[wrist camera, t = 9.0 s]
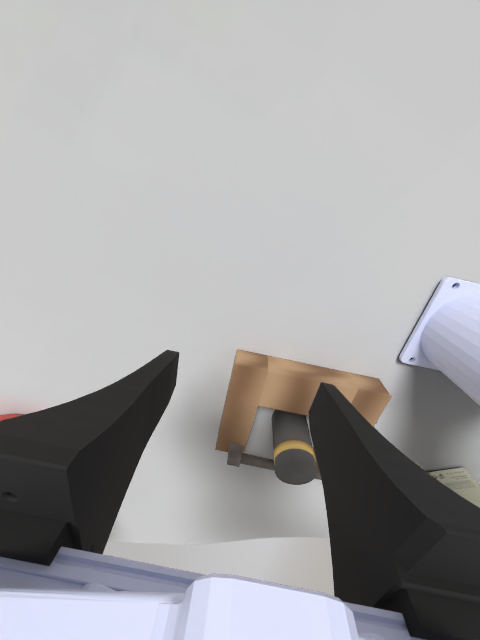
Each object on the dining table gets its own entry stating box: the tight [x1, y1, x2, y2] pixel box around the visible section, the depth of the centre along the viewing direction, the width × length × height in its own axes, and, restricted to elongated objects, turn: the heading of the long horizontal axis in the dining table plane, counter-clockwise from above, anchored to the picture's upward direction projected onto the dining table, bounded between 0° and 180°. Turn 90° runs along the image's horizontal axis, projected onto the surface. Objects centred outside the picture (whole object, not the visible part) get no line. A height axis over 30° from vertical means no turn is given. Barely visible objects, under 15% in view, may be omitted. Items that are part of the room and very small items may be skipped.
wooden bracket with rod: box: [215, 349, 391, 480], centre depth 24 cm, size 14×11×4 cm
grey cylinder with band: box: [272, 409, 317, 485], centre depth 24 cm, size 4×4×6 cm
